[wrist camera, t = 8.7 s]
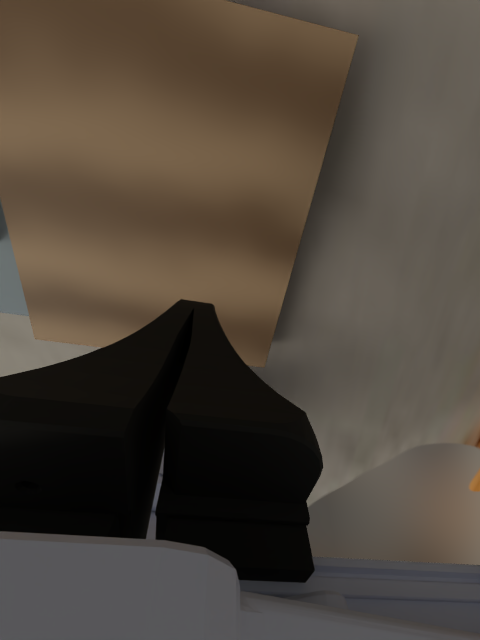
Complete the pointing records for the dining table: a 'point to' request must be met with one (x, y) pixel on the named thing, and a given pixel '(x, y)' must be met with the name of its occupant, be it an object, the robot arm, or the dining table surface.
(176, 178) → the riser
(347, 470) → the dining table surface
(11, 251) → the mat
